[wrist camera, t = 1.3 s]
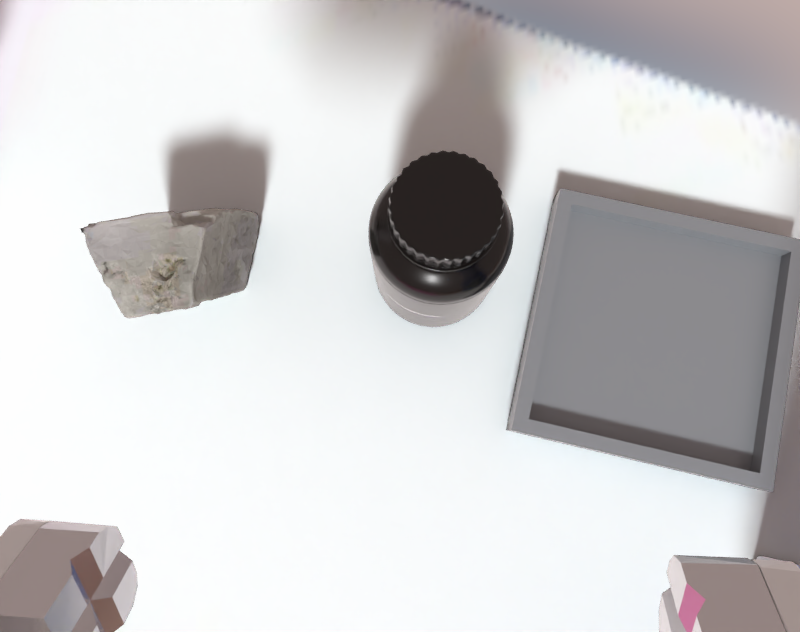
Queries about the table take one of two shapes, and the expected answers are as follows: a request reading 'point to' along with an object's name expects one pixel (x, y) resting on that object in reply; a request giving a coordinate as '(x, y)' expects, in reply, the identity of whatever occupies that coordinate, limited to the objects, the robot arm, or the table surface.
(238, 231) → the mineral specimen
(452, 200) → the supplement bottle
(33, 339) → the table surface
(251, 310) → the table surface
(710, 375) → the tray
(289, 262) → the table surface
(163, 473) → the table surface
